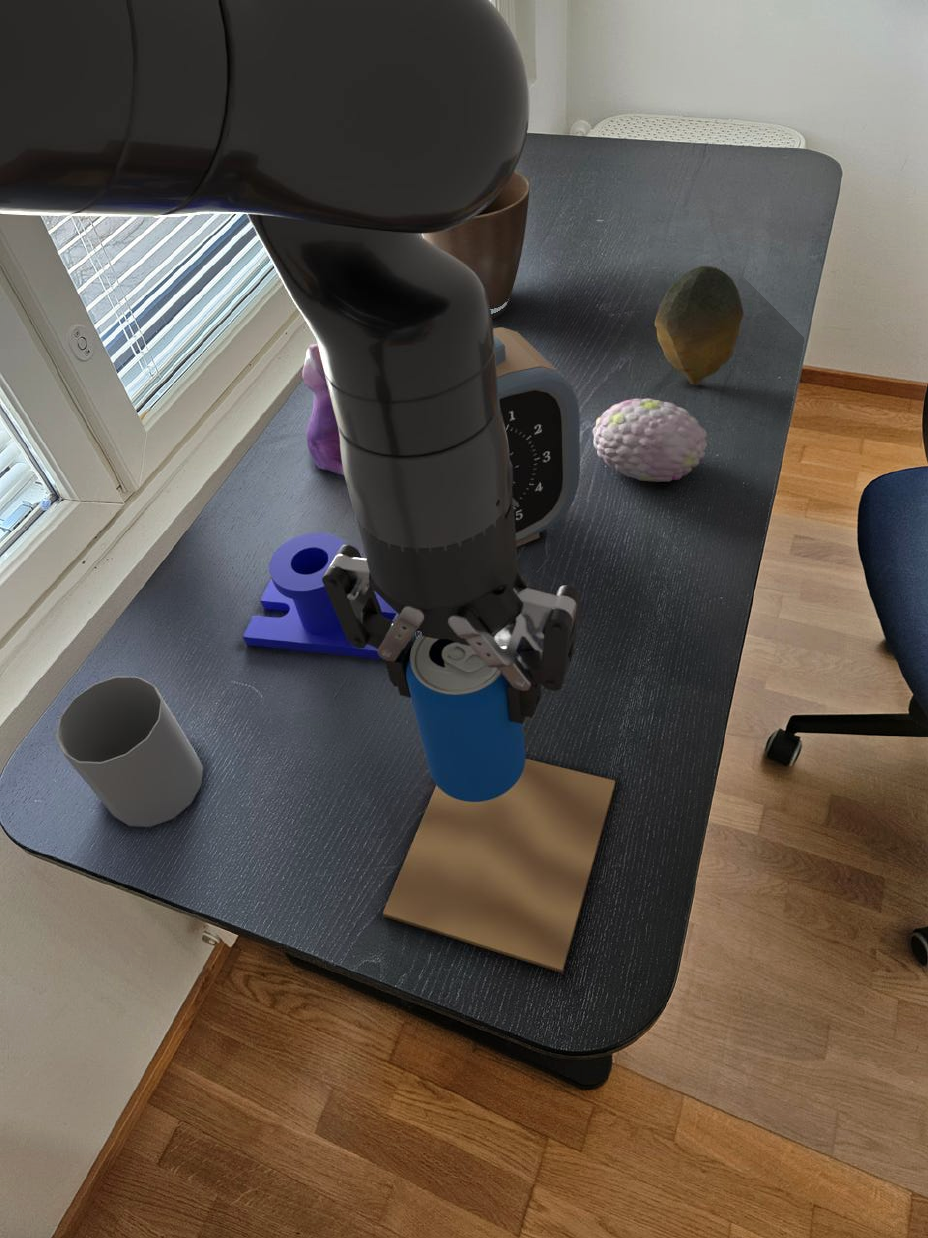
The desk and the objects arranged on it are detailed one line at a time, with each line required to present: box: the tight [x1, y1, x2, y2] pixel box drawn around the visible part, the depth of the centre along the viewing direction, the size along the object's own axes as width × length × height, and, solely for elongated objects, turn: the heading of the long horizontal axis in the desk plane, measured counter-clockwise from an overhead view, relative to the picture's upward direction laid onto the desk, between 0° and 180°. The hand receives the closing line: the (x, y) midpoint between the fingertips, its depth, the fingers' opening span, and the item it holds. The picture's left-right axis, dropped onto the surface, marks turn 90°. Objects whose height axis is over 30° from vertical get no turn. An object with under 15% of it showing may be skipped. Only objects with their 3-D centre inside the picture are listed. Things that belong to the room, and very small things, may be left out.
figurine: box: [301, 343, 344, 476], centre depth 100 cm, size 9×10×15 cm
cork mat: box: [382, 758, 616, 974], centre depth 70 cm, size 16×14×1 cm
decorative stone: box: [654, 265, 745, 386], centre depth 102 cm, size 10×6×15 cm, turn 73°
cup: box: [55, 675, 204, 828], centre depth 74 cm, size 8×8×10 cm
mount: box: [242, 531, 397, 660], centre depth 84 cm, size 15×8×9 cm, turn 78°
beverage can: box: [406, 632, 526, 802], centre depth 55 cm, size 6×6×12 cm
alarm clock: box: [493, 327, 581, 548], centre depth 86 cm, size 21×10×22 cm, turn 115°
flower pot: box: [421, 170, 531, 319], centre depth 118 cm, size 15×15×16 cm
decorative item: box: [592, 397, 708, 483], centre depth 95 cm, size 9×11×10 cm
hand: (466, 698), depth 54 cm, fingers closed on beverage can, 6 cm apart
